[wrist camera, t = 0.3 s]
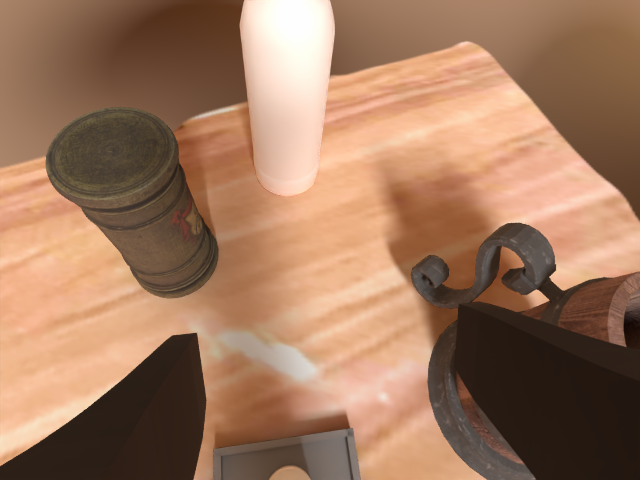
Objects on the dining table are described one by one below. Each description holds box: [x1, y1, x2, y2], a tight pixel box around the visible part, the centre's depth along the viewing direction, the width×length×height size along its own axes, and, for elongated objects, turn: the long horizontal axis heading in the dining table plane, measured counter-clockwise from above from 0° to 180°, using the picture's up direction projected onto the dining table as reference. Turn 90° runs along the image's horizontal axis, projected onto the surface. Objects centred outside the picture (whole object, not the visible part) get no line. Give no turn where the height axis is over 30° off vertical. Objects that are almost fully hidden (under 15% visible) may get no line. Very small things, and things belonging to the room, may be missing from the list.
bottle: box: [240, 0, 335, 196], centre depth 35 cm, size 8×8×30 cm
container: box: [46, 107, 218, 298], centre depth 34 cm, size 9×9×18 cm
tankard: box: [411, 223, 640, 480], centre depth 30 cm, size 24×17×20 cm
